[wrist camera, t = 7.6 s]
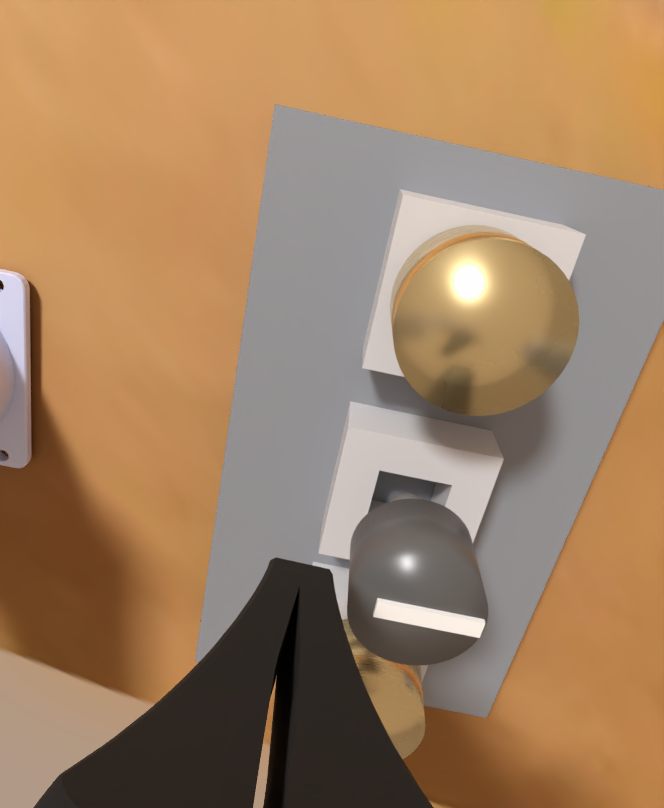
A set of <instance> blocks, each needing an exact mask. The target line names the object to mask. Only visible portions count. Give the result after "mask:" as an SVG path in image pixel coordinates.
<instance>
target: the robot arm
mask: <svg viewBox="0 0 664 808" xmlns="http://www.w3.org/2000/svg"><path fill="white" fill-rule="evenodd" d="M0 280H1V281H2V282H3V285H4V289H3V290H2V289H0V465H3V466H8V467H12V468H22V467H24V466H26V465H27V464H28V463H29V462H30V460H31V457H32V454H31V358H30V287H29V283H28V281H27V280H26V278H25V277H24V276H22V275H21V274H19V273H17V272H13V271H8V270H3V269H0ZM1 450H4V451H6V452H7V454H8V456H9V457H8V456H5V455H4V454H3V453H2V451H1ZM276 676H277V679H276ZM275 680H276V690H275V700H274V711H273V722H272V733H271V744H270V755H269V766H268V777H267V784H266V792H265V800H264V806H263V808H433V807H432V805H431V804H430V802H429V801H428V799H427V798H426V796H425V795H424V793H423V792H422V790H421V789H420V787H419V786H418V784H417V782H416V781H415V779H414V778H413V776H412V774H411V773H410V771H409V769H408V768H407V766H406V764H405V763H404V761H403V759H402V758H401V756H400V754H399V753H398V751H397V750H396V748H395V746H394V744H393V742H392V741H391V739H390V737H389V735H388V733H387V731H386V729H385V727H384V725H383V724H382V722H381V720H380V717H379V715H378V713H377V711H376V709H375V707H374V705H373V703H372V701H371V698H370V696H369V694H368V692H367V689H366V687H365V685H364V682H363V680H362V677H361V675H360V672H359V670H358V667H357V664H356V662H355V659H354V656H353V653H352V650H351V647H350V644H349V641H348V638H347V635H346V632H345V629H344V625H343V622H342V618H341V614H340V610H339V606H338V602H337V598H336V593H335V587H334V581H333V574H332V572H331V571H330V569H327V568H322V567H318V566H313V565H309V564H304V563H300V562H295V561H291V560H286V559H281V558H277V557H276V558H274V559H272V560H270V562H269V565H268V568H267V570H266V572H265V574H264V576H263V578H262V580H261V582H260V583H259V585H258V587H257V588H256V590H255V592H254V593H253V595H252V596H251V598H250V599H249V601H248V602H247V604H246V605H245V606H244V608H243V609H242V611H241V612H240V614H239V615H238V616H237V618H236V619H235V621H234V622H233V623H232V624H231V626H230V627H229V628H228V629H227V631H226V632H225V633H224V634H223V635H222V637H221V638H220V639H219V640H218V642H217V643H216V644H215V645H214V646H213V648H212V649H211V650H210V651H209V652H208V653H207V654H206V655H205V657H204V658H203V659H202V660H201V661H200V662H199V663H198V664H197V665H196V666H195V667H194V668H193V669H192V670H191V671H190V672H189V673H188V674H187V675H186V676H185V677H184V678H183V679H182V680H181V681H180V682H179V683H178V684H177V685H176V686H175V687H174V688H173V689H172V690H171V691H169V692H168V693H167V694H166V695H165V696H164V697H163V698H162V699H161V700H160V701H159V702H157V703H156V704H155V705H154V706H153V707H152V708H150V709H149V710H148V711H147V712H146V713H144V714H143V715H142V716H141V717H139V718H138V719H137V720H136V721H134V722H133V723H132V724H130V725H129V726H128V727H127V728H125V729H124V730H123V731H122V732H120V733H119V734H118V735H117V736H115V737H114V738H113V739H111V740H110V741H109V742H107V743H106V744H105V745H103V746H102V747H100V748H99V749H97V750H96V751H94V752H93V753H91V754H90V755H88V756H87V757H85V758H84V759H82V760H81V761H80V762H78V763H77V764H75V765H74V766H72V767H71V768H69V769H68V770H66V771H65V772H63V773H62V774H60V775H59V776H58V777H57V779H56V780H55V781H54V782H53V784H52V785H51V786H50V787H49V788H48V790H47V791H46V792H45V794H44V795H43V796H42V797H41V799H40V800H39V801H38V802H37V804H36V805H35V807H34V808H253V803H254V796H255V789H256V783H257V776H258V770H259V763H260V757H261V750H262V744H263V738H264V732H265V726H266V719H267V713H268V707H269V701H270V697H271V694H272V690H273V687H274V683H275Z"/></svg>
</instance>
